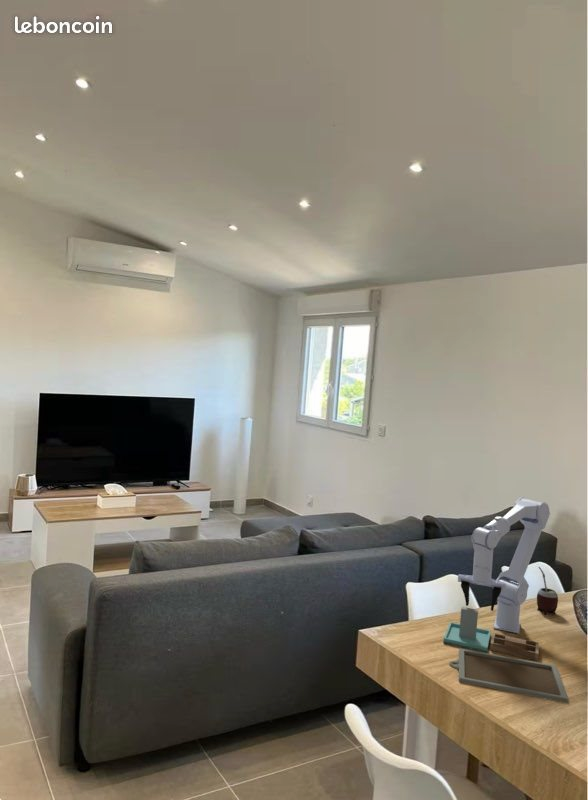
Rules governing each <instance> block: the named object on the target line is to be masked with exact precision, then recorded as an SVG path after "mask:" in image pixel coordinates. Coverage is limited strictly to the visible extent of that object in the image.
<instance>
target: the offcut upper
mask: <svg viewBox="0 0 588 800" xmlns="http://www.w3.org/2000/svg"><path fill="white" fill-rule="evenodd" d="M507 636H508V635H506V636H505V645H506V646H510V647H515V648H519V649H524V650H526V640H527V639H524V640H522V639H523V638H519V639H517V638H518V637H515V638H512V637H513V636H510V637H507Z"/></svg>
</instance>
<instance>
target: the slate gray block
mask: <svg viewBox="0 0 588 800" xmlns="http://www.w3.org/2000/svg"><path fill="white" fill-rule="evenodd" d="M478 616H479V609H474V608H471V607H470V608H469V607H467V606H466V607H465V606H461V607H460V619H459V624H460V631H459V637H463V638H467V639H472V640H476V632H477V628H478V619H479V618H478Z"/></svg>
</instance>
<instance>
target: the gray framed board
mask: <svg viewBox="0 0 588 800" xmlns="http://www.w3.org/2000/svg"><path fill="white" fill-rule="evenodd" d="M449 666H450V667H451V668H454V669H456V670H457V671H458V682H459V683H463V684H469V685H473V686H477V687H484V688H489V689H494V690H498V691H499V690H500V691H503V692H504V691H505V692H510V693H515V694H520V695H524V696H525V695H526V696H529V697H535V698H536V697H537V698H540V699H545V698H546V699H545V700H550V699H551V701H556V702H560V701H561V703H565V702H566V704H568V702H569V698H568V695H567V692H566V689H565V686H564V683H563V680H562V678H561V674H560V672H559V669H558V666H557V665H554V664H550V663H544V662H540V661H539V662H538V661H534V660H529V659H528V660H527V659H521V658H516V657H511V656H510V657H509V656H505V655H504V656H503V655H499V654H493V653H488V652H487V653H486V652H481V651H477V650H472V649H467V648H465V649H464V648H458V658H457V660H450V661H449Z"/></svg>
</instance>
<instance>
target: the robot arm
mask: <svg viewBox="0 0 588 800" xmlns="http://www.w3.org/2000/svg"><path fill="white" fill-rule="evenodd" d="M550 515H551V511H550V506H549V504H548V503H546V502H543V501H542V502H541V501H538V500H535V499H529V498H526V497H524V496H523V497H519V498H518V499H517V500H515V501H514V504H513V507H512V508H511V509H510V510H509V511H508V512H507V513H506V514H504V515H503V516H495V517H494V519H492V520H491V521H490V522H488V523H486V524H485V525H484V526H483V527H481V526H479V527H477V528H475V529H474V530H473V532H472V535H471V536H470V539H471V543H472V548H473V551H474V552H473V567H472V575H470V574H469V575H468V574H460V573H459V574H458V576H457V582H459V583H461V584H460V587H461V590H462V592H463V595H464V599H465V606H466V607H469V604H470V587H471V585H470V584H473V585H479V586H484V587H489V588H492V593H491V594H492V598H491V604H490V611H492V612H493V611H494V609H495V604H496V602H497V606H496V615H495V616H496V617H495V620H494V625H493V629H496V630H500V631H505V632H509V633H514V634H520V631H521V622H520V613H521V605H522V604H524V602H525V601H527V597H528V591H529V587H530V585H529V582H528V581H527V579H526V578H525V575H526V573H527V569H528V567H529V564H530V561H531V559H532V557H533V554H534V552H535V549H536V548H537V547H536V546H537V545H538V542H539V539H540V536H541V533H542V531H543V530H544V529H545V528H546V525H547V523H548V520H549V519H550ZM517 522H520V523H521V524H523V526H524V529H523V532H522V534H521V536H520V539H519V541H518V544H517V547H516V549H515V552H514V554H513V557H512V559H511V562H510V565H509V567H508V569H507V570H504V571H501V572H500V573H499V575H498V577H497V578H496V579H494V578H492V570H493V560H494V557H493V556H494V549H495V548H496V547H497V545H498V543H499V542H500V540H501V538H502V537H504V536H505V535H506V534H507V533H509V532H510V530H511V526H512V525H514V524H516V523H517Z"/></svg>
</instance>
